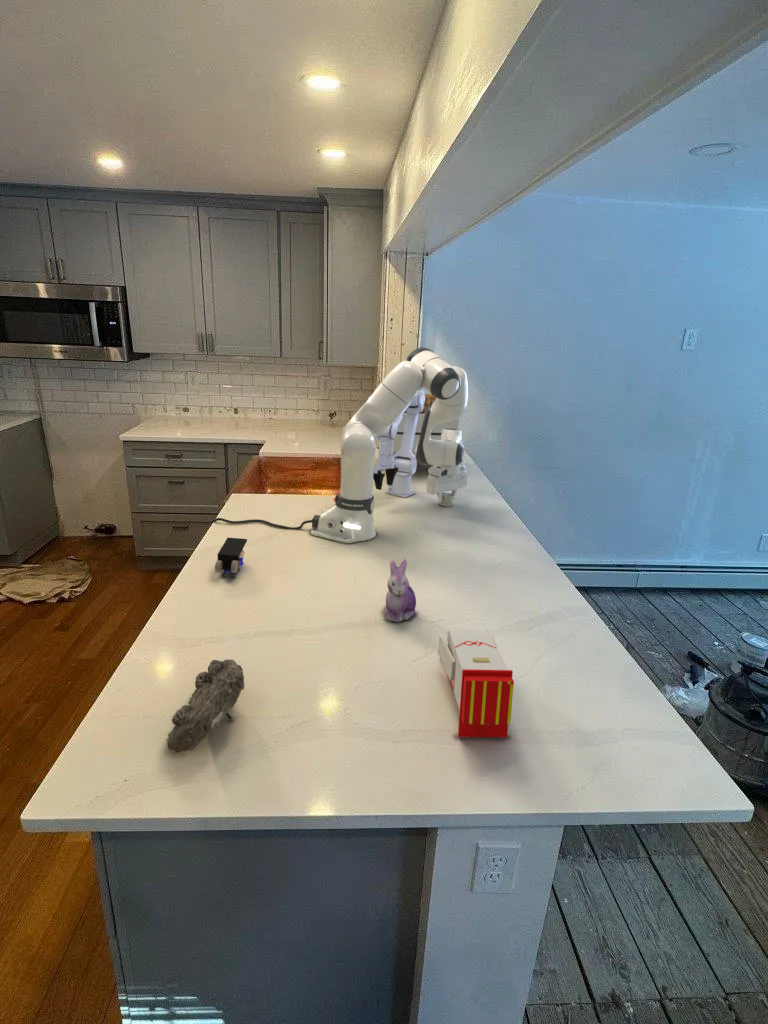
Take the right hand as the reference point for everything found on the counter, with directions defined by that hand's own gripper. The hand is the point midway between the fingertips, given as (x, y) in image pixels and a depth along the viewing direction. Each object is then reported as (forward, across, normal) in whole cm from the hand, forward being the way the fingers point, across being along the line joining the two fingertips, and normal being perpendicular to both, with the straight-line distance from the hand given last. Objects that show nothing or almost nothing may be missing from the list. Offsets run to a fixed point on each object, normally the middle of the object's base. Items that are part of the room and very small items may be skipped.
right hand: (384, 487), depth 224 cm
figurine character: (+8, -77, +1) cm, 77 cm away
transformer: (+8, +59, +21) cm, 63 cm away
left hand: (+6, +19, -18) cm, 27 cm away
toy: (+8, -85, -80) cm, 117 cm away
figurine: (+8, -67, -52) cm, 85 cm away
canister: (+8, +19, -18) cm, 27 cm away
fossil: (+8, -122, -44) cm, 130 cm away
